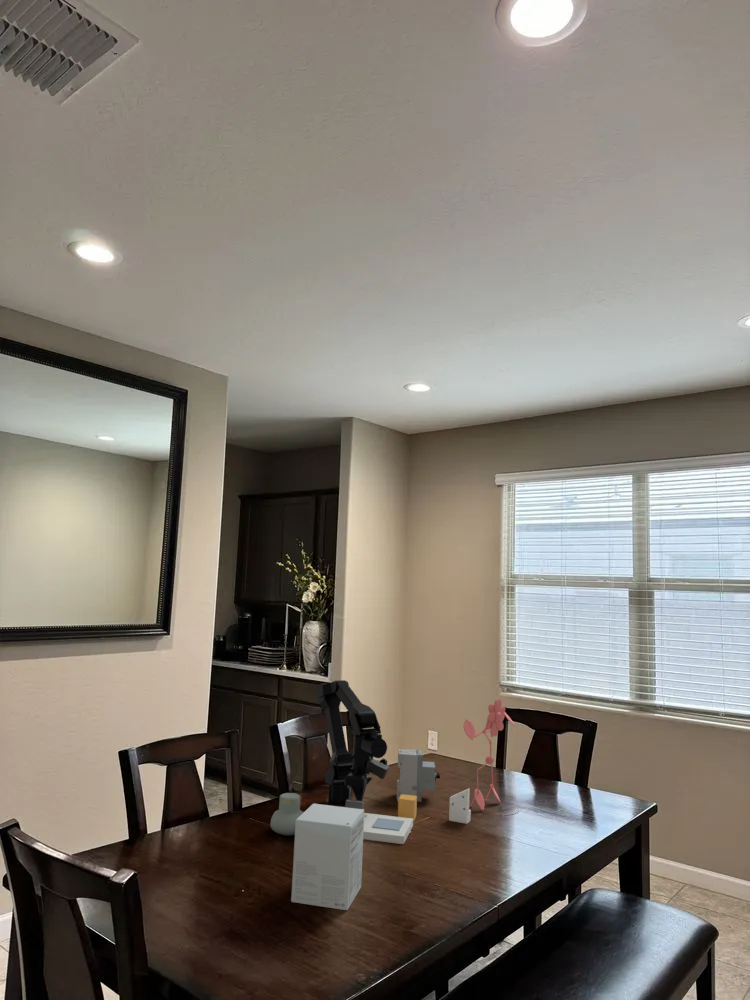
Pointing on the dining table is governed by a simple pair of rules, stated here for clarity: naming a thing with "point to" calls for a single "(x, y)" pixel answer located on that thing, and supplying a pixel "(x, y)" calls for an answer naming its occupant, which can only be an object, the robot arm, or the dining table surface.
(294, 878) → the supplement box
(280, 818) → the air freshener
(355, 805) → the block
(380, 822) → the breaker panel
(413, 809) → the cap
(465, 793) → the white wedge bracket
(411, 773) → the circuit breaker
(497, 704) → the figurine
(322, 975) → the dining table surface
